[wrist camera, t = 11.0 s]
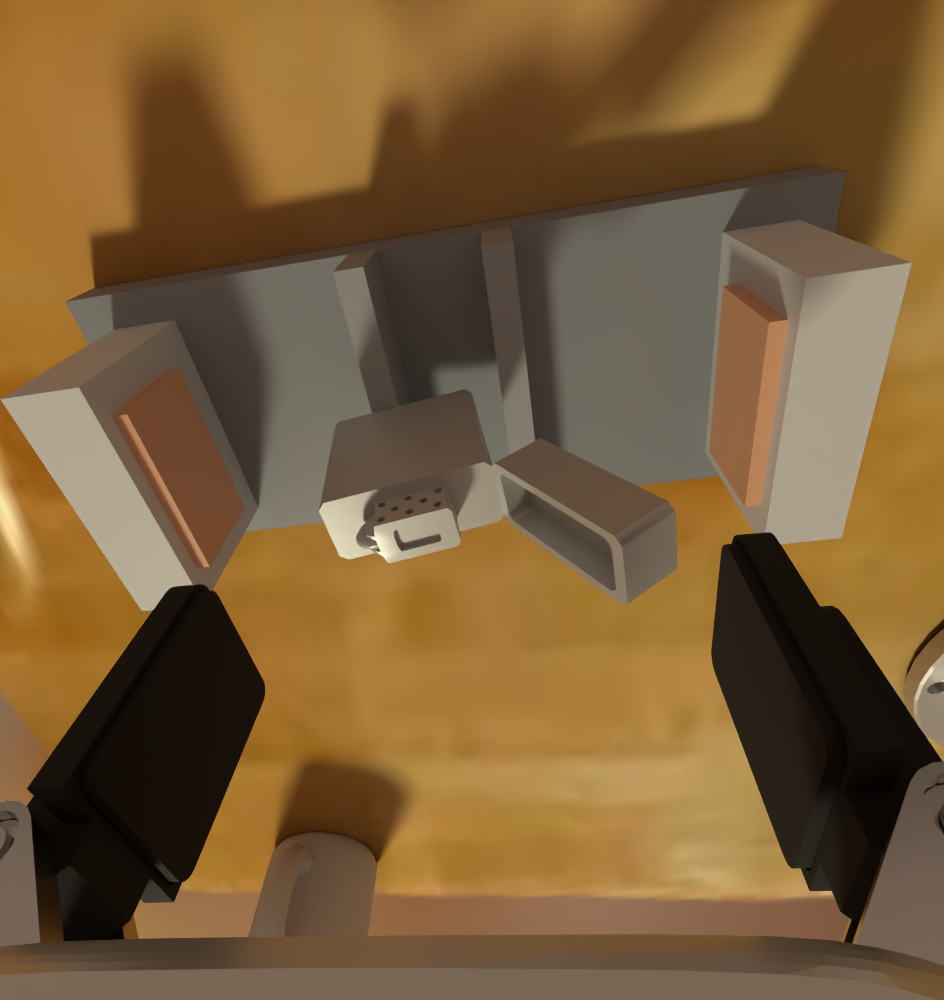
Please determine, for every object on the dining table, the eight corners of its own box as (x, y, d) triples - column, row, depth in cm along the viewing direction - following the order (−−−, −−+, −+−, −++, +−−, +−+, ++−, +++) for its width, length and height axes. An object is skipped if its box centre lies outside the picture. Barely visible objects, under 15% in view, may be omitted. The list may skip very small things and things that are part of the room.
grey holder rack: (818, 165, 16) (983, 198, 11) (775, 445, 21) (872, 562, 16) (93, 288, 18) (-67, 364, 13) (209, 514, 24) (127, 636, 18)
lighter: (352, 472, 18) (327, 684, 11) (332, 423, 17) (292, 622, 10) (577, 414, 18) (689, 595, 11) (570, 361, 17) (689, 522, 10)
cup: (294, 882, 42) (254, 1045, 35) (240, 812, 37) (179, 989, 30) (390, 876, 42) (369, 1042, 34) (349, 803, 36) (314, 983, 29)
